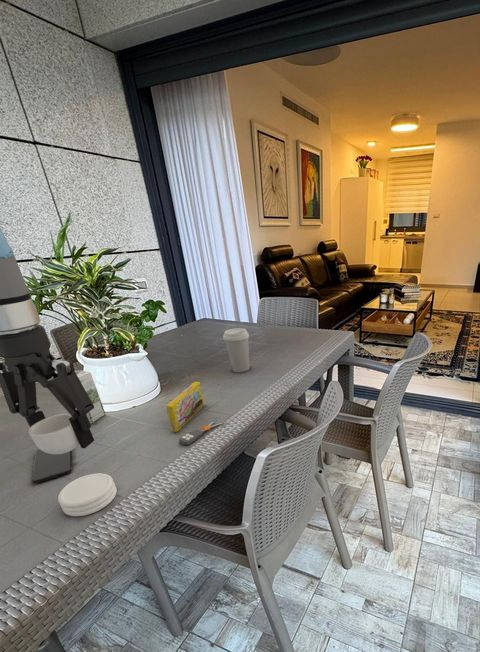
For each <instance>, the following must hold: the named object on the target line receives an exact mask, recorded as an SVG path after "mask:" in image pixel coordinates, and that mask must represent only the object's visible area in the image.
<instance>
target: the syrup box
mask: <svg viewBox="0 0 480 652" xmlns="http://www.w3.org/2000/svg"><path fill="white" fill-rule="evenodd" d="M75 373H76V375H77V376H78V378H79V380H80V382H81V383H82V385H83V387H84V389H85V391H86V392H87V394H88V396H89V398H90V400H91V401H92V403H93V405H94V409H92V410H91V411H89V412H88V413H87V414H86V415H87V417H88V420H89V422H90V425H91V424H94V423H95V422H97V421H99V420H100V419H102V418H103V417H105V416H106V411H105V408H104V406H103V403H102V400H101V398H100V394H99V392H98V391H99V390H98V389H97V386H96V383H95V380H94V377H93V375H92V373H91V371H87V370H75ZM76 410H77V408H76Z"/></svg>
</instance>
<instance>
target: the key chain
mask: <svg viewBox="0 0 480 652" xmlns="http://www.w3.org/2000/svg"><path fill="white" fill-rule="evenodd" d="M214 423H215V422H214V421H211V422H210V423H208V424H207V425H203V426H202V427H200V428H201V429H195V430H193V431H191V432H189V433H186V434H185V435H182V436H181V437H180V438H178V441H179V443H180V444H182V445H185V446H188V445H190V444H192V443H193V442H194V441H196V440H198V439H199V438H200V437H201V436H202V435H203V434H204V432H206V431H209V430H210V431H211V428H214V427H217V426H220V425H222V424H224V422H220V423H216V424H214Z"/></svg>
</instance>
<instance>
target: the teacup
mask: <svg viewBox="0 0 480 652" xmlns="http://www.w3.org/2000/svg"><path fill="white" fill-rule="evenodd" d="M70 417H72V416H71V415H70V414H69V413H59V414H55V415H51V416H47V417H45V419H43V420H41V421H39V422H37V423H35V424H34V425H33V426H31V427H30V426H29V428H28V434H29V436H30V437H31V439H32V441H33V442H34V444H35V445H36V447H38V449H40V450H42V451H43V452H46V453H48V454H63V453H66V452H69V451H71V450H72V451H73V450H75V449H76V448H77V447H78V446H80V444H79V441H78V439H77V437H76V435H75V432H74V430H73V428H72V426H71V423H70V421H69V418H70Z"/></svg>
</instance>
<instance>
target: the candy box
mask: <svg viewBox="0 0 480 652" xmlns="http://www.w3.org/2000/svg"><path fill="white" fill-rule="evenodd" d="M204 406H205V403H204V398H203V393H202V387H201V382H200V381H193V382H192V383H190V385H189V386H188V387H186V388H185V389H184V390H183V391H182V392H181V393H179V394H178V395H177V396H176V397H175V398H173V399H172V400H171V401H170V402H168V403H167V404H166V405H165V407H166V413H167V416H168V422H169V426H170V429H171V432H172V433H178V432H179V431H180V430H181V429H183V427H184V426H185V425H186V424H187V423H188V422H189V421H190V420H191V419H192V418H193V417H194V416H195V415H196V414H197V413H198V412H199V411H200V410H201V409H202V408H203V407H204Z"/></svg>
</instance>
